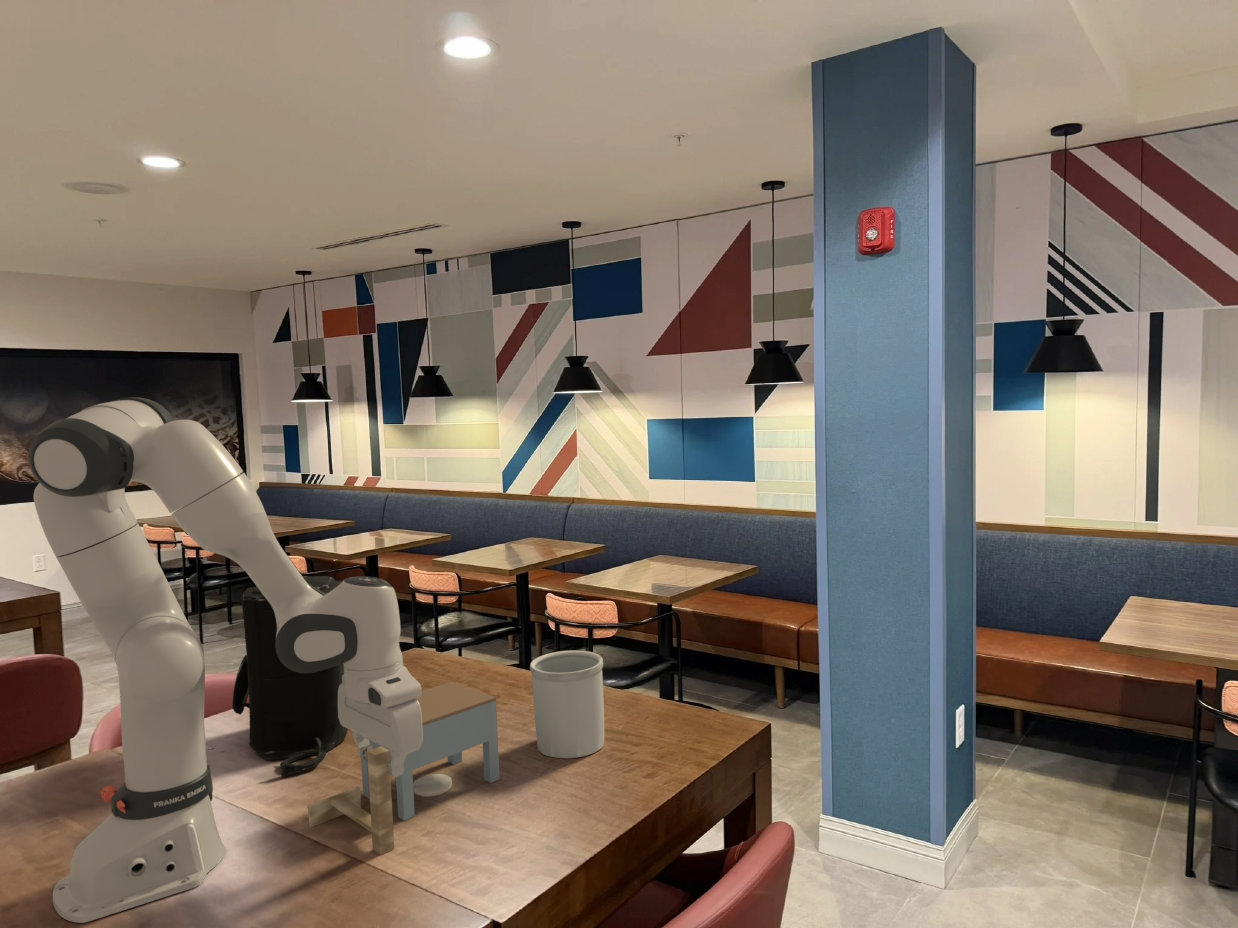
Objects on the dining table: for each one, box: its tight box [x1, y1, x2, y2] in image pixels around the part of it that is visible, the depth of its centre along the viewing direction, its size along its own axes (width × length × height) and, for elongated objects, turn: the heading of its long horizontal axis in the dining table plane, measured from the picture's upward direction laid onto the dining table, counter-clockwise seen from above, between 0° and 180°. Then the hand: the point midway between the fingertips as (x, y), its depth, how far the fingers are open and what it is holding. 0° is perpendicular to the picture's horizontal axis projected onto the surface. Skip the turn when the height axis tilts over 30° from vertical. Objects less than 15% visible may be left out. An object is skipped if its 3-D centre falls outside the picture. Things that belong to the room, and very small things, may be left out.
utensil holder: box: [529, 650, 605, 759], centre depth 165 cm, size 15×15×18 cm
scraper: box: [307, 747, 395, 856], centre depth 133 cm, size 9×18×16 cm, turn 46°
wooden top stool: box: [360, 681, 501, 821], centre depth 149 cm, size 20×14×16 cm
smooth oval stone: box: [413, 773, 453, 797], centre depth 149 cm, size 7×7×1 cm
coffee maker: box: [231, 575, 349, 778], centre depth 172 cm, size 23×32×34 cm
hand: (380, 765), depth 128 cm, fingers open, 8 cm apart
